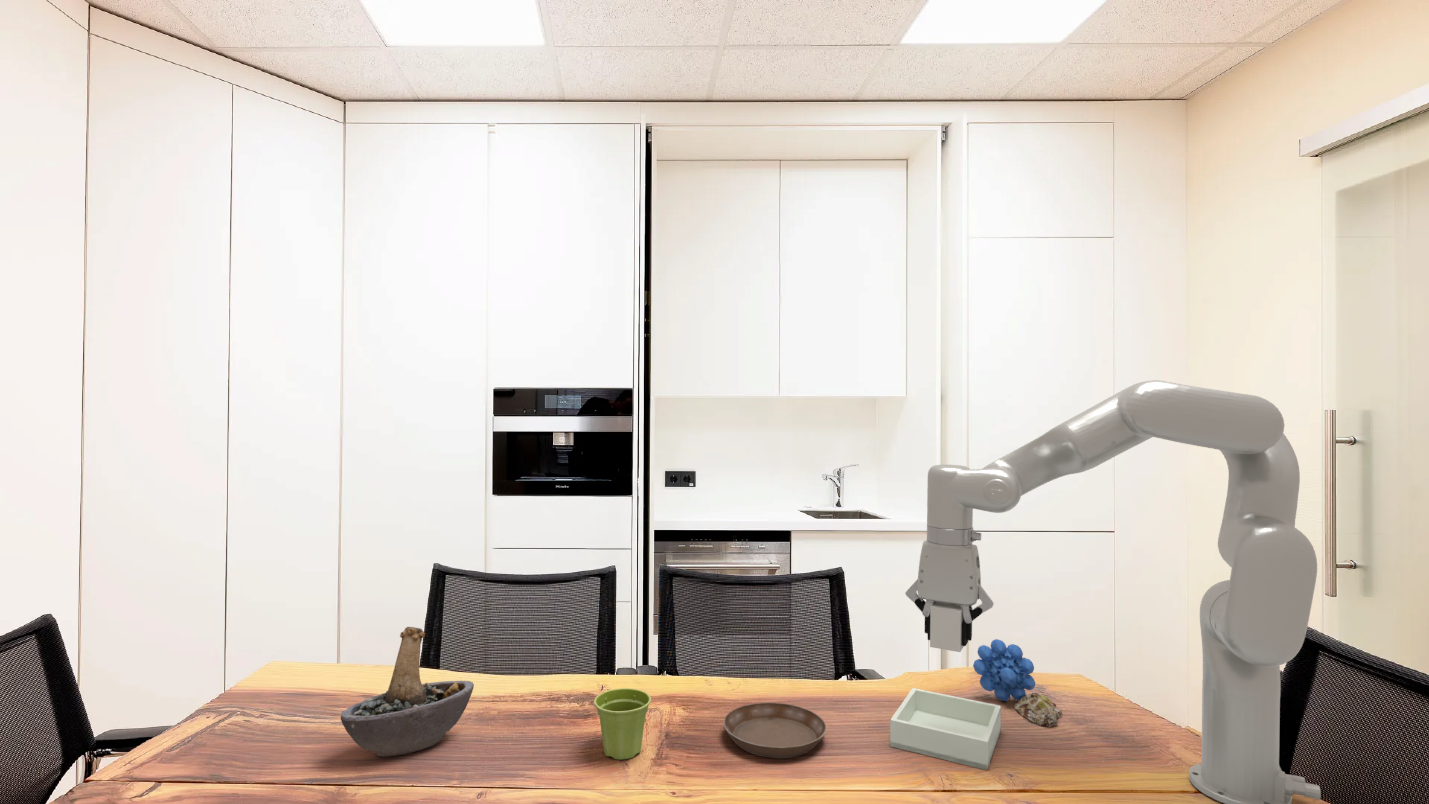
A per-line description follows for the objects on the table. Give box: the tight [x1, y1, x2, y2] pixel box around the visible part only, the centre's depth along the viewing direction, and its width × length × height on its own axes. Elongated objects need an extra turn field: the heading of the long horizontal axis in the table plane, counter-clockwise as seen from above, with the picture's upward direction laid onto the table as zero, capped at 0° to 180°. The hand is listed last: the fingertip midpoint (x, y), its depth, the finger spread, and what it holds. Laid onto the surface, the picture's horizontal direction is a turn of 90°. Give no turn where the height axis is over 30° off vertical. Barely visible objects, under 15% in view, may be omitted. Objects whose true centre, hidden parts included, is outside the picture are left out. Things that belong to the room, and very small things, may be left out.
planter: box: [340, 626, 475, 758], centre depth 119 cm, size 15×17×20 cm
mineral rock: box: [1014, 692, 1063, 729], centre depth 135 cm, size 11×4×8 cm
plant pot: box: [593, 687, 652, 760], centre depth 119 cm, size 9×9×9 cm
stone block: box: [929, 601, 965, 653], centre depth 125 cm, size 5×5×7 cm
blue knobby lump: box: [972, 638, 1036, 702], centre depth 140 cm, size 12×7×12 cm, turn 82°
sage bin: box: [889, 687, 1002, 771], centre depth 125 cm, size 16×16×4 cm
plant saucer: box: [723, 702, 827, 759], centre depth 124 cm, size 18×18×3 cm
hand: (947, 639), depth 125 cm, fingers closed on stone block, 5 cm apart
